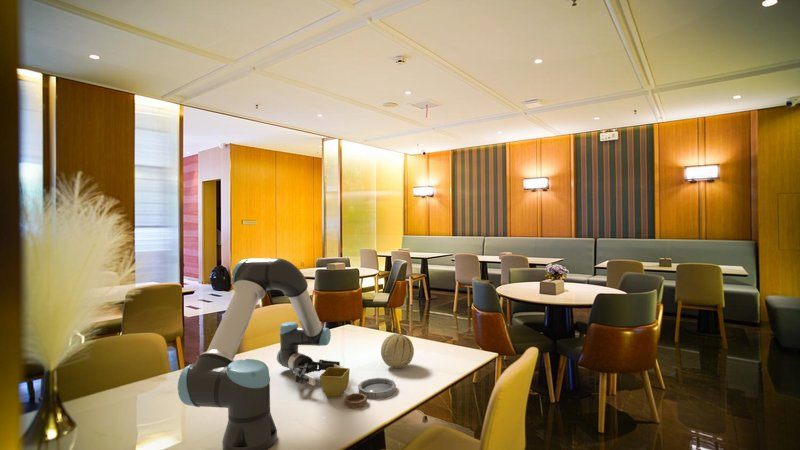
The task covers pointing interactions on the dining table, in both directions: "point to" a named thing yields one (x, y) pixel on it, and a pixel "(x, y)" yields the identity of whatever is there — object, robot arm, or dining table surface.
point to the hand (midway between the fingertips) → (329, 376)
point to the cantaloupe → (397, 350)
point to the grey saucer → (377, 387)
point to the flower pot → (334, 381)
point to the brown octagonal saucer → (355, 400)
